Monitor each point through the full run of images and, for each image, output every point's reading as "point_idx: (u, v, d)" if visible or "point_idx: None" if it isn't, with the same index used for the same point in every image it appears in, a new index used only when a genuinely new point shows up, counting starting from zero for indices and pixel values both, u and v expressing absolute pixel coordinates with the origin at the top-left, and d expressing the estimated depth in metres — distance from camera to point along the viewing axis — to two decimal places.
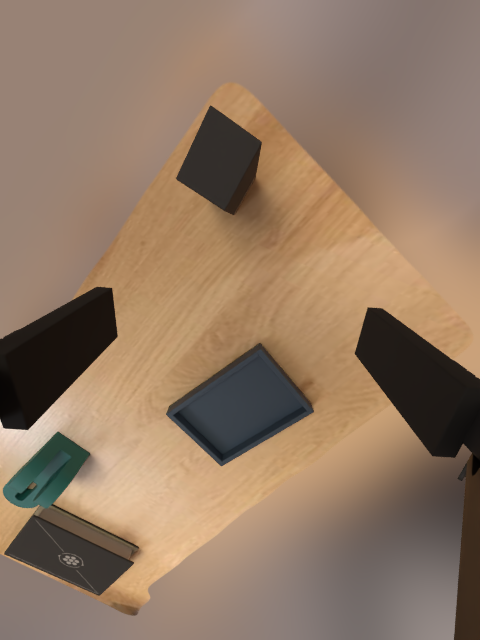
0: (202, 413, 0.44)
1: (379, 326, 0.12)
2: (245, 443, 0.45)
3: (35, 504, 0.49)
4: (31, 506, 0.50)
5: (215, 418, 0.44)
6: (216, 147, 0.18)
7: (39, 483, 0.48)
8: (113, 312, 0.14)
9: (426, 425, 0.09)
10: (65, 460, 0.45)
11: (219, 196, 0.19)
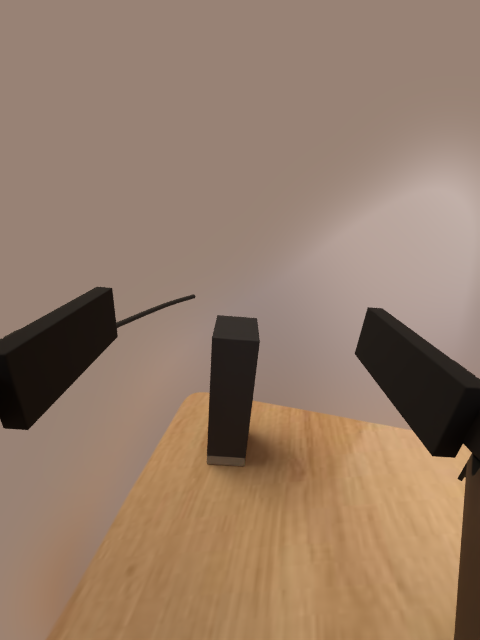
0: None
1: (379, 326, 0.12)
2: None
3: None
4: None
5: None
6: (232, 323, 0.25)
7: None
8: (113, 312, 0.14)
9: (426, 425, 0.09)
10: None
11: (250, 337, 0.23)
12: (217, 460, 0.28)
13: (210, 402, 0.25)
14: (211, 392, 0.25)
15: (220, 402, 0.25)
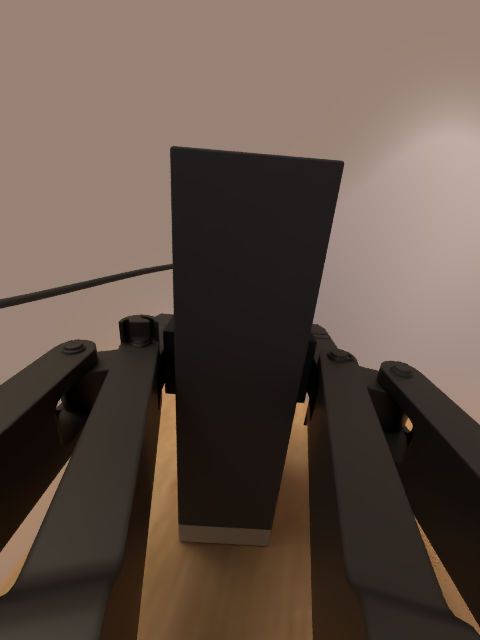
0: None
1: None
2: None
3: None
4: None
5: None
6: None
7: None
8: None
9: None
10: None
11: None
12: (204, 534, 0.12)
13: (178, 392, 0.09)
14: (179, 361, 0.08)
15: (207, 391, 0.09)
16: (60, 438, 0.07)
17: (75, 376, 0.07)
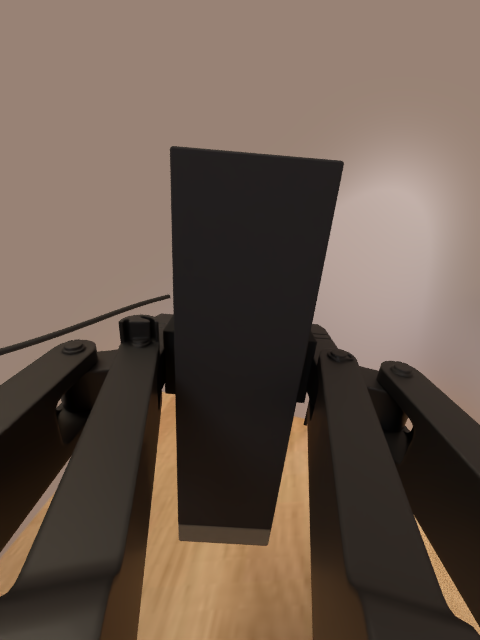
0: None
1: None
2: None
3: None
4: None
5: None
6: None
7: None
8: None
9: None
10: None
11: None
12: (203, 534, 0.12)
13: (178, 391, 0.09)
14: (179, 361, 0.08)
15: (207, 390, 0.09)
16: (60, 438, 0.07)
17: (75, 376, 0.07)
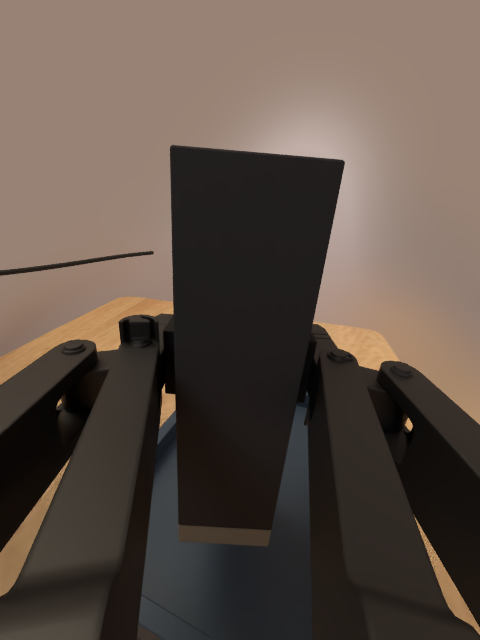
0: (167, 535, 0.15)
1: None
2: None
3: None
4: None
5: None
6: None
7: None
8: None
9: None
10: None
11: None
12: (203, 535, 0.12)
13: (178, 392, 0.09)
14: (179, 361, 0.08)
15: (207, 391, 0.09)
16: (60, 438, 0.07)
17: (75, 376, 0.07)
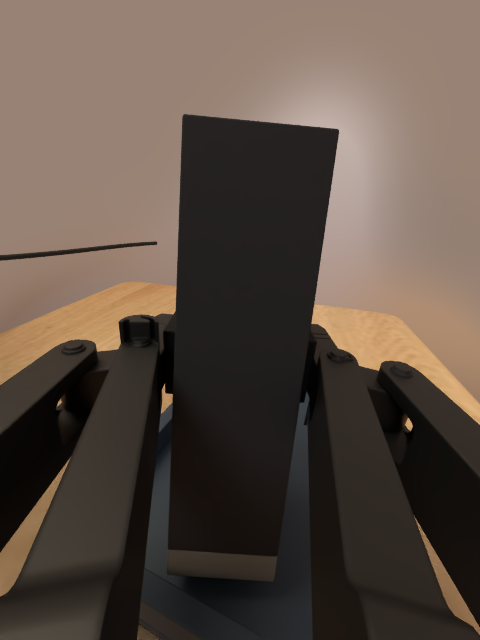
0: None
1: None
2: None
3: None
4: None
5: None
6: None
7: None
8: None
9: None
10: None
11: None
12: (197, 564, 0.10)
13: (177, 368, 0.08)
14: (180, 330, 0.08)
15: (208, 366, 0.08)
16: (60, 438, 0.07)
17: (75, 376, 0.07)
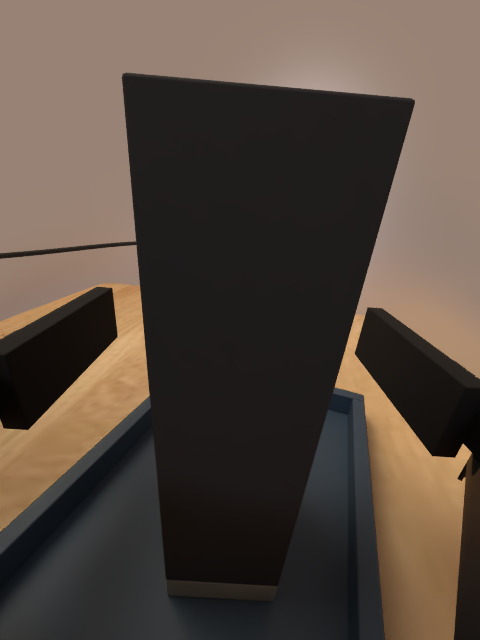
0: (103, 589, 0.10)
1: (379, 326, 0.12)
2: (351, 628, 0.09)
3: None
4: None
5: None
6: None
7: None
8: (113, 312, 0.14)
9: (426, 425, 0.09)
10: None
11: None
12: (196, 590, 0.10)
13: (157, 438, 0.06)
14: (156, 401, 0.06)
15: (196, 438, 0.06)
16: None
17: None
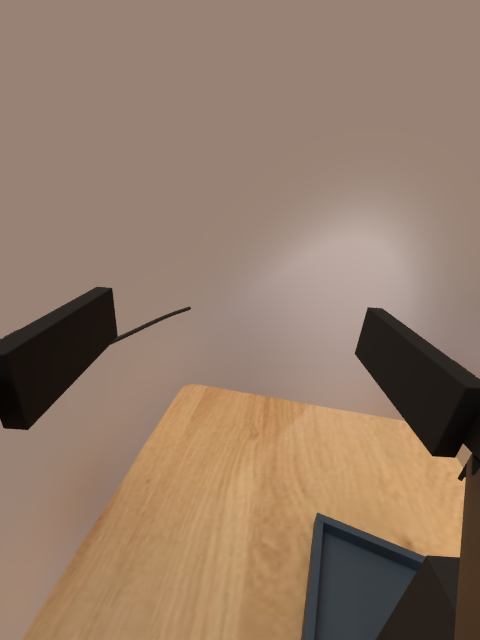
0: None
1: (379, 326, 0.12)
2: None
3: None
4: None
5: None
6: None
7: None
8: (113, 312, 0.14)
9: (426, 425, 0.09)
10: None
11: None
12: None
13: None
14: None
15: None
16: None
17: None
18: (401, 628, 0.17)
